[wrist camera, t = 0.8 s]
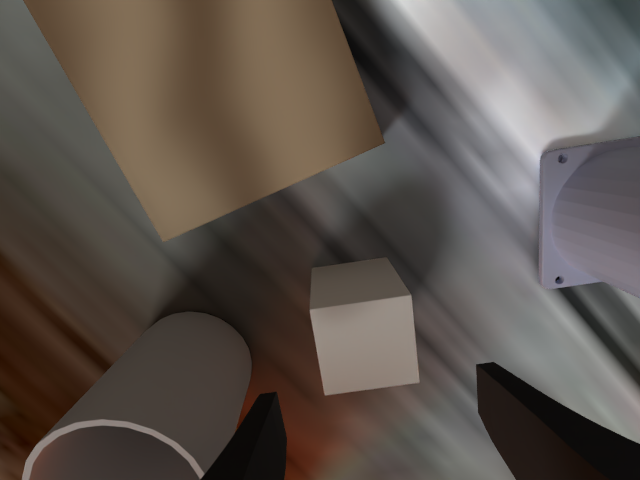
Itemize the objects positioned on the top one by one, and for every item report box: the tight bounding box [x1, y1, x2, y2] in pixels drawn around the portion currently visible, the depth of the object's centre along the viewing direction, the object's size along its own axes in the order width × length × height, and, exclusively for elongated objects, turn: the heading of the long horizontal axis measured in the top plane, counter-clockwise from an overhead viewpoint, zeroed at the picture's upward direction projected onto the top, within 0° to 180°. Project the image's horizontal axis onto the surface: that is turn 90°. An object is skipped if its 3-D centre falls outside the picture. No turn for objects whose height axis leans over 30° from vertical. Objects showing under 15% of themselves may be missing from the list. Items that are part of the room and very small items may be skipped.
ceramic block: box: [309, 257, 419, 395], centre depth 18 cm, size 4×4×6 cm
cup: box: [22, 312, 252, 480], centre depth 18 cm, size 7×10×9 cm
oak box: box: [23, 0, 385, 242], centre depth 17 cm, size 12×12×3 cm
